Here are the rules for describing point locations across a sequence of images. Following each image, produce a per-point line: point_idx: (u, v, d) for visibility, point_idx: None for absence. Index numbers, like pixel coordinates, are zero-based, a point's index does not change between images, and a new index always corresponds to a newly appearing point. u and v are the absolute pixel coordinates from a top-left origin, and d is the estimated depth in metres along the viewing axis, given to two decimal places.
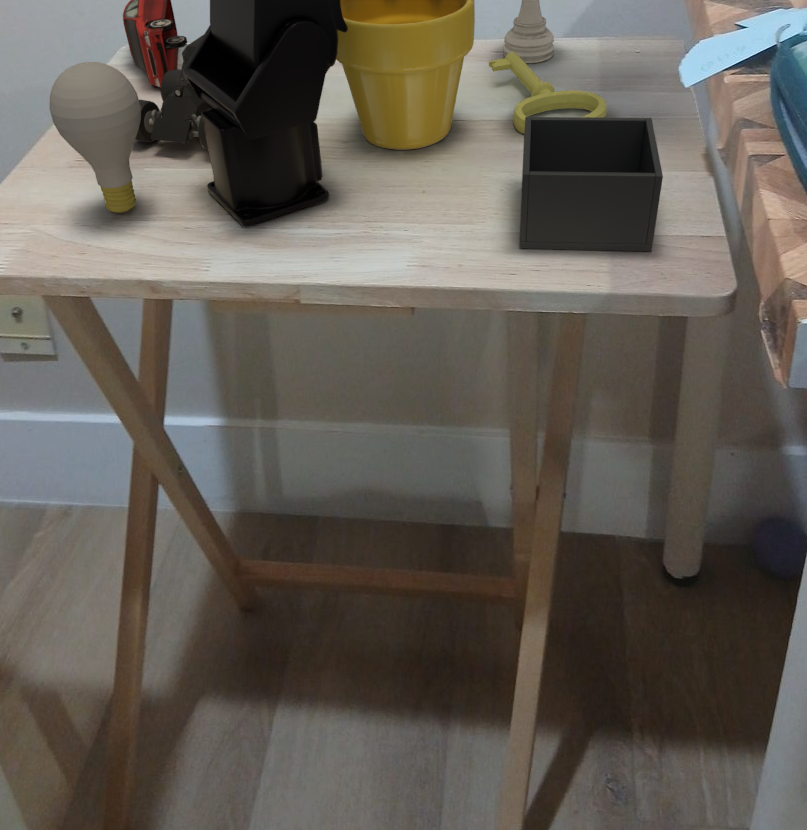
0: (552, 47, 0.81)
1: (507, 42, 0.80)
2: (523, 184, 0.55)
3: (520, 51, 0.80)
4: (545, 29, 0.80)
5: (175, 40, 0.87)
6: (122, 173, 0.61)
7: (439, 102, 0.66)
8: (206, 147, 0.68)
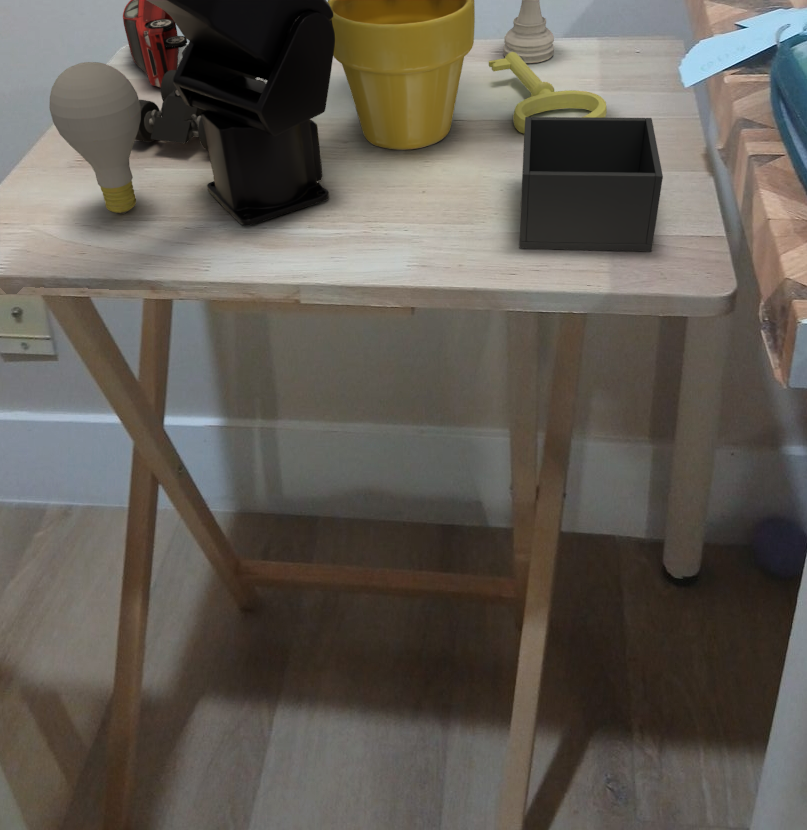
0: (552, 47, 0.81)
1: (507, 42, 0.80)
2: (523, 184, 0.55)
3: (520, 51, 0.80)
4: (545, 29, 0.80)
5: (175, 40, 0.87)
6: (122, 173, 0.61)
7: (439, 102, 0.66)
8: (206, 147, 0.68)
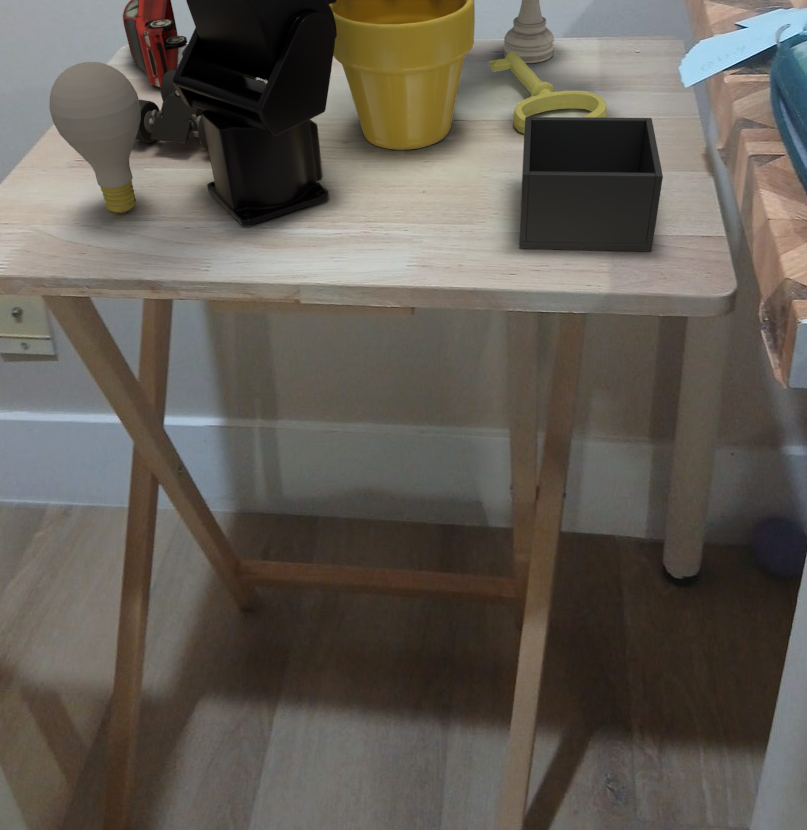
0: (552, 47, 0.81)
1: (507, 42, 0.80)
2: (523, 184, 0.55)
3: (520, 51, 0.80)
4: (545, 29, 0.80)
5: (175, 40, 0.87)
6: (122, 173, 0.61)
7: (439, 102, 0.66)
8: (206, 147, 0.68)
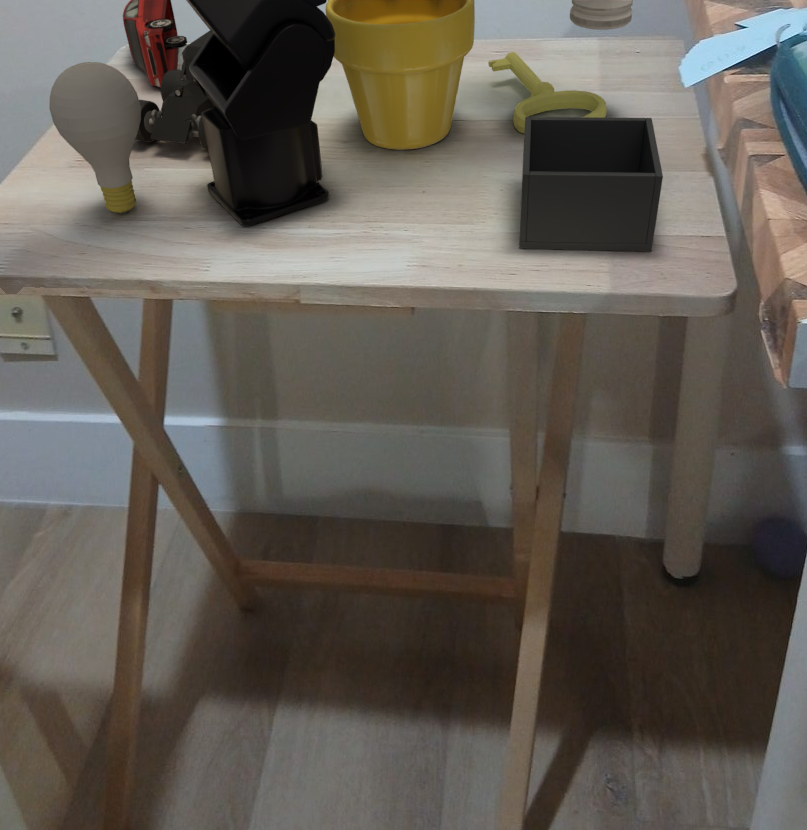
0: (626, 15, 0.65)
1: (572, 0, 0.66)
2: (523, 184, 0.55)
3: (582, 12, 0.66)
4: None
5: (175, 40, 0.87)
6: (122, 173, 0.61)
7: (439, 102, 0.66)
8: (206, 147, 0.68)
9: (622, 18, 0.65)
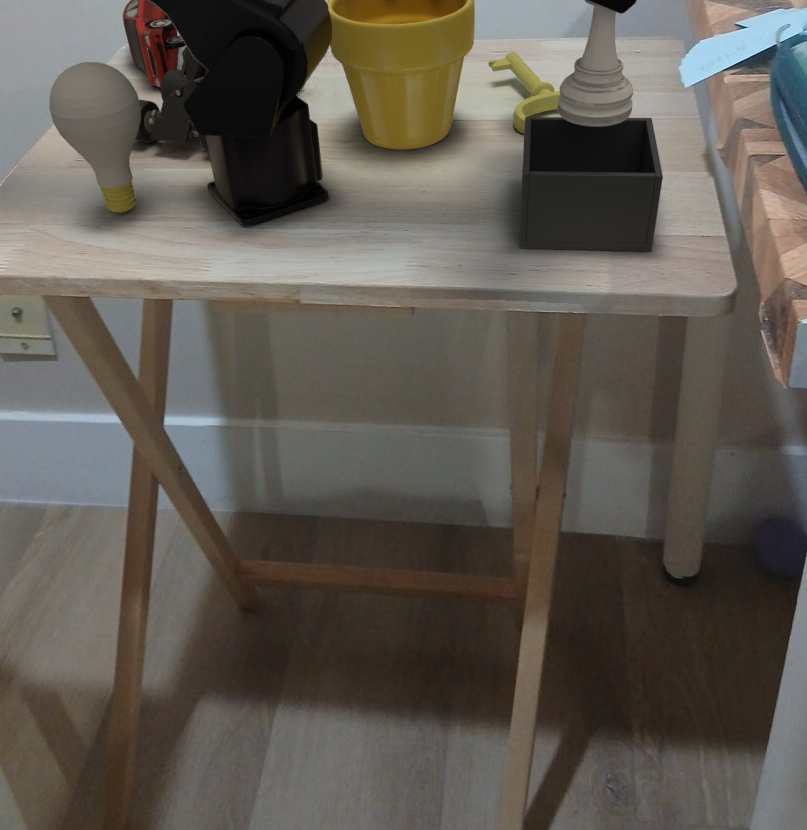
0: (607, 114, 0.54)
1: None
2: (523, 184, 0.55)
3: (562, 98, 0.55)
4: (604, 84, 0.53)
5: (175, 40, 0.87)
6: (122, 173, 0.61)
7: (439, 102, 0.66)
8: (206, 147, 0.68)
9: (599, 117, 0.54)
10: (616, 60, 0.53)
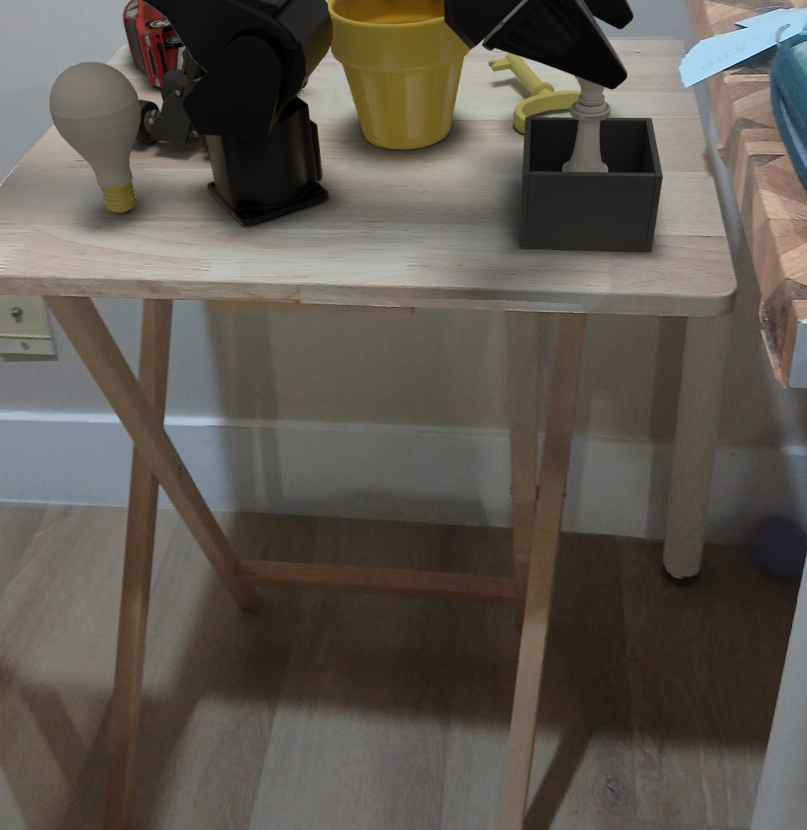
0: None
1: None
2: (523, 184, 0.55)
3: None
4: None
5: (175, 40, 0.87)
6: (122, 173, 0.61)
7: (439, 102, 0.66)
8: (206, 147, 0.68)
9: None
10: (601, 165, 0.57)
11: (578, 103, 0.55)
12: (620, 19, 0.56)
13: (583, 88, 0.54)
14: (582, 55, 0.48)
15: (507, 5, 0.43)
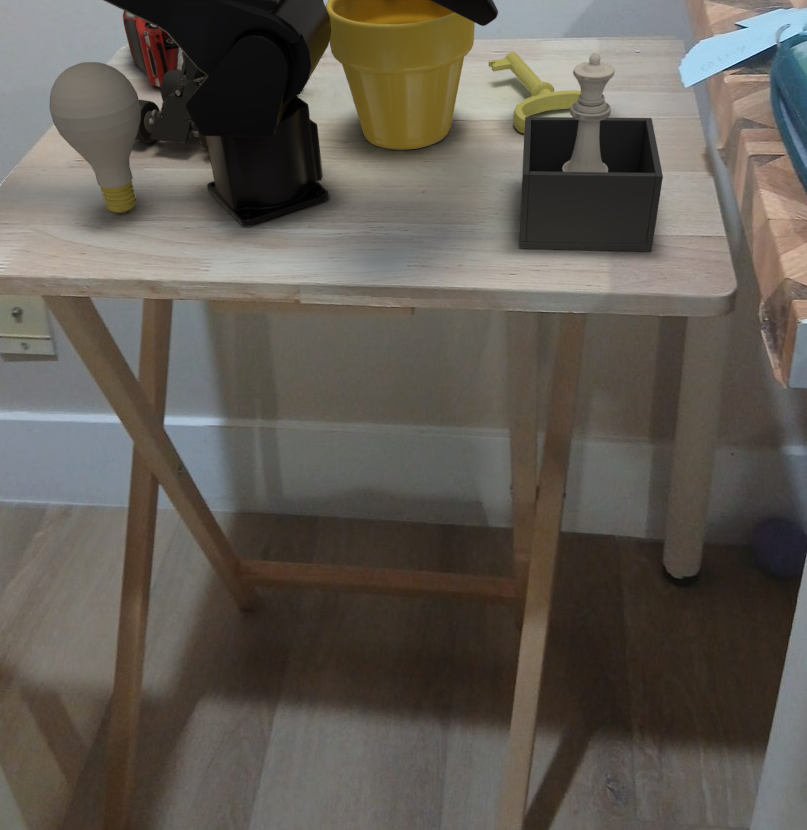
0: None
1: None
2: (523, 184, 0.55)
3: None
4: None
5: None
6: (122, 173, 0.61)
7: (439, 102, 0.66)
8: (206, 147, 0.68)
9: None
10: (601, 165, 0.57)
11: (578, 103, 0.55)
12: None
13: (583, 88, 0.54)
14: None
15: None
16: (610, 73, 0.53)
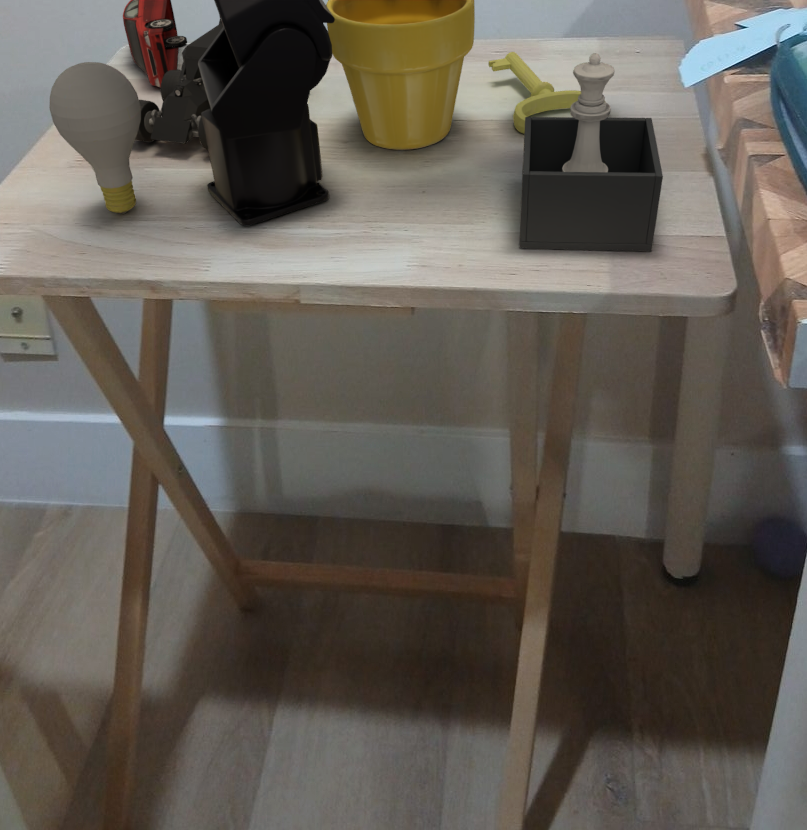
0: None
1: None
2: (523, 184, 0.55)
3: None
4: None
5: (175, 40, 0.87)
6: (122, 173, 0.61)
7: (439, 102, 0.66)
8: (206, 147, 0.68)
9: None
10: (601, 165, 0.57)
11: (578, 103, 0.55)
12: None
13: (583, 88, 0.54)
14: None
15: None
16: (610, 73, 0.53)
